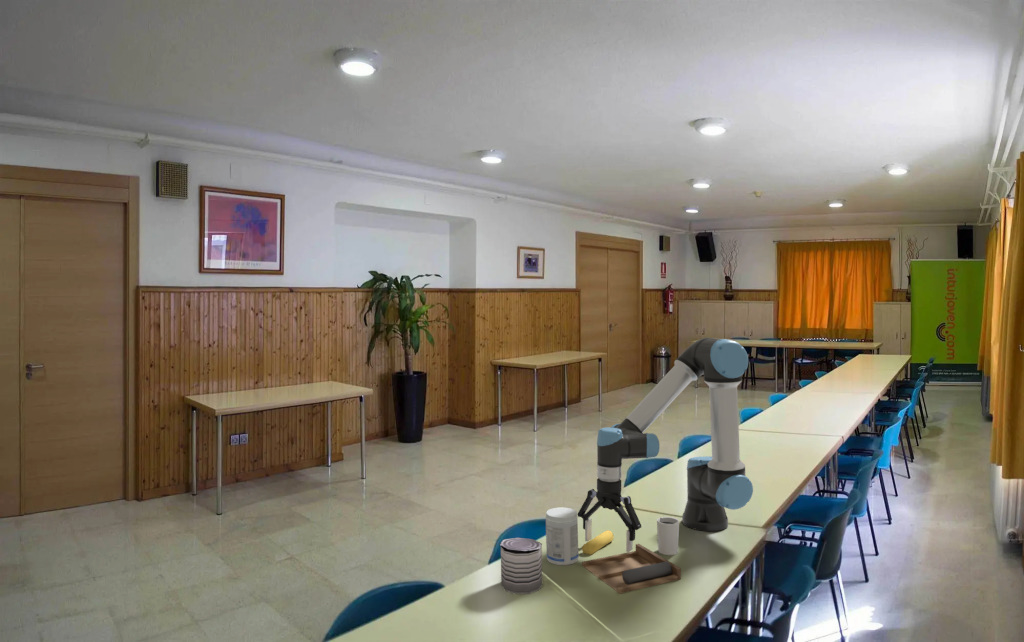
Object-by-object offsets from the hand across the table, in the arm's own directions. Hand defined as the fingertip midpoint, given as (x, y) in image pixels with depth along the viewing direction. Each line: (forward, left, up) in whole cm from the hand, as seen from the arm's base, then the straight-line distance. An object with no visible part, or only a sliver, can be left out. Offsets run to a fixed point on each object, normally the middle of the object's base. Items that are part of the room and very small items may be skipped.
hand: (608, 546), depth 202 cm
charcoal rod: (+2, +23, -1) cm, 23 cm away
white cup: (-16, +9, -2) cm, 18 cm away
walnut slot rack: (+3, +17, -1) cm, 17 cm away
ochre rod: (+1, -3, +2) cm, 3 cm away
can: (+34, +10, -2) cm, 36 cm away
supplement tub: (+16, 0, -2) cm, 16 cm away
